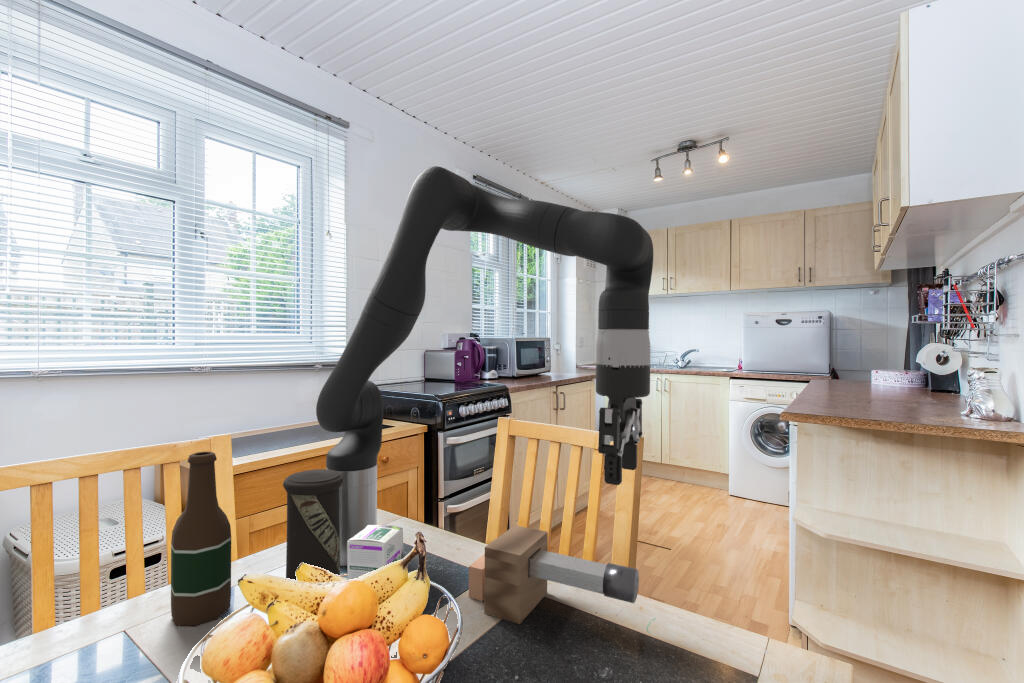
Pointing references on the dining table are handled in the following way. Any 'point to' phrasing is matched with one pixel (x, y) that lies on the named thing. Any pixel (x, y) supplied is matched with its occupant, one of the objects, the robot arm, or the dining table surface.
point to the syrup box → (373, 549)
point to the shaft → (586, 574)
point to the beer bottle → (200, 550)
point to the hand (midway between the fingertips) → (621, 476)
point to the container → (313, 520)
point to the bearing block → (513, 574)
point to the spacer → (477, 579)
